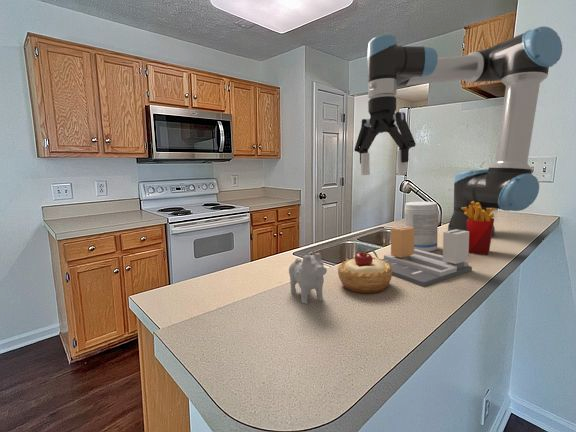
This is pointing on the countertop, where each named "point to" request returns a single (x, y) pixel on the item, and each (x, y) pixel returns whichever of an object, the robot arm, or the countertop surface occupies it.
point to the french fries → (479, 228)
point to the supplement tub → (423, 224)
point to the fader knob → (402, 242)
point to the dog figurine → (308, 275)
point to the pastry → (365, 273)
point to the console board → (434, 261)
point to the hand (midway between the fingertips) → (382, 175)
